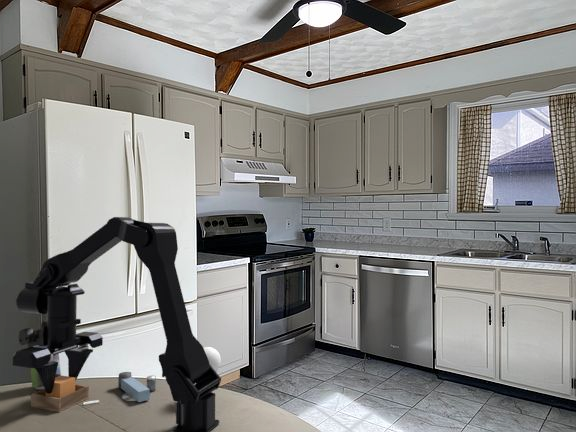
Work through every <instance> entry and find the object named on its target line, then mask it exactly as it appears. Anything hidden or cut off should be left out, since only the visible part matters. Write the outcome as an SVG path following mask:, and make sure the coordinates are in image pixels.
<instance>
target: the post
mask: <svg viewBox="0 0 576 432" xmlns="http://www.w3.org/2000/svg"><path fill="white" fill-rule="evenodd" d="M156 379H157V377H156V375H148V376H146V387H147V388H149V389H150V393H154V392H155V391H156V390H157V389H156V386H157V383H156V382H157V381H156ZM153 391H154V392H153Z"/></svg>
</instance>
